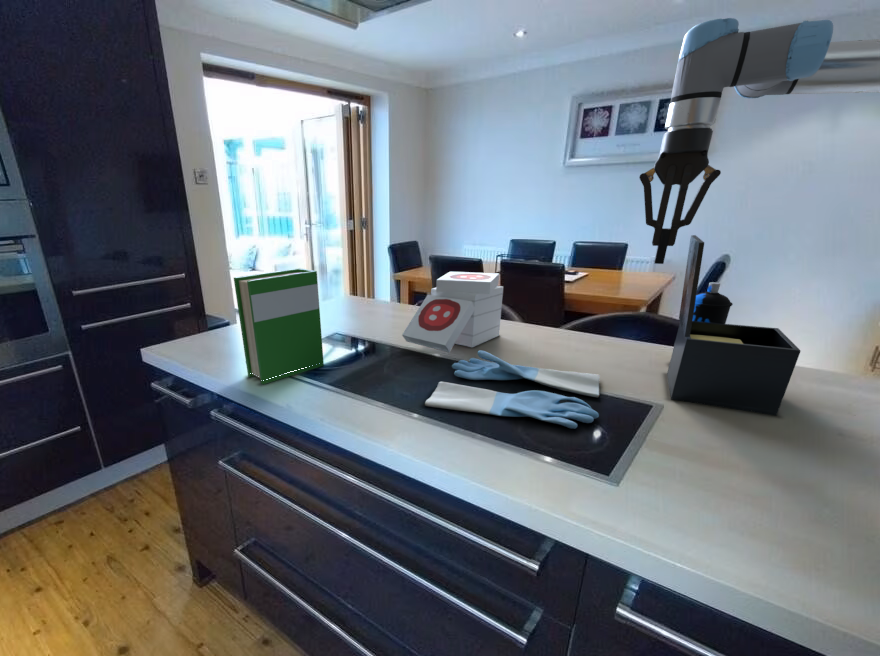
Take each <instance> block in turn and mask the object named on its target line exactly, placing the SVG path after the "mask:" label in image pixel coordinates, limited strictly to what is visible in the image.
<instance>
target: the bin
mask: <svg viewBox="0 0 880 656" xmlns="http://www.w3.org/2000/svg"><path fill="white" fill-rule="evenodd" d="M690 335H705V336H716V337H725V338H733V339H740V340H741V341H742V343H743V344H740V343H730V342H720V341H710V340H700V339H691V337H685V335H684V332H683V329H682V326H681V323H680V322H679V325H678V329H677V333H676V337H675V340H674V344H673V347H672V352H671V357H670V361H669V364H668V369H667V372H666V375H667V382H668V390H669V395H670V400H674V401H679V402H687V403H691V404H698V405H706V406H710V407H718V408H726V409H731V410H739V411H745V412H750V413H757V414H764V415H770V416H778V413H779V410H780V407H781V405H782V403H783V399H784V397H785V395H786V392H787V389H788V387H789V384H790V380H791V378H792V375H793V373H794V370H795V367H796V365H797V362H798V359H799V356H800V354H801V352H802V350H800V348H799V347H798V346H797V345H796V344H795V343H794V342H793V341H792V340H791V339H790V338H789V337H788V336H787V335H786V334H785V333H784V332H783V331H782V330H781V329H780V328H779V327H769V326H755V325H743V324H742V325H741V324H732V323H731V324H730V323H725V324H721V323H709V322H697V321H692V326H691V333H690Z"/></svg>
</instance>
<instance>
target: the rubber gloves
mask: <svg viewBox="0 0 880 656" xmlns="http://www.w3.org/2000/svg"><path fill="white" fill-rule="evenodd" d="M477 355H478V357H479V358H475V357H471V358H469V360H468V361H467V360H466V359H460V360H458V362H454V363H452V364H451V368H452V369H453V370H455V371H454V373H453V375H454V376H455V377H457V378H461V379H465V380H473V381H486V380H487V381H488V380H489V381H491V380H492V381H512V380H513V381H514V380H523V379H525V380H529V381H532V382H535V383H537V384H540V385H543V386H545V387H549V388H552V389H555V390H560V391H564V392H568V393H571V394H572V393H573V394H577V395H582V396H586V397H591V398H599V397H600V395H601V393H600V382H601V381H600V379H601V375H600V374H597V373H596V374H595V373H587V372H578V371H569V370H557V369H552V368H543V367H533V366H527V365H526V366H525V365H517V364H511V363H510V362H508V361H505V360H503V359H502V358H501V357H497V356H496V355H494V354H492V353H490V352H487V351H486V350H478V351H477ZM480 358H481V359H480ZM482 359H483V360H482ZM560 401H566V402H560ZM424 406H425V407H430V408H437V409H444V410H445V409H446V410H452V411H453V410H454V411H462V412H467V413H477V414H484V415H492V416H497V417H512V418H521V417H523V418H524V417H530V418H533V419H536V420H539V421H542V422H546V423H551V424H555V425H559V426H562V427H565V428H568V429H572V430H576V429H577V428H578V427H579V426H578V423H577V422H576V421H578V422H581V423H583V424H592V423H593V422H594V421H595V420H597V419H598V418H599V417H600V413H599V412H598V411H596V410H594V409H593V408H592V407H591V405H590V404H588V403H587V402H585V400H583V399H580V398H578V397H575V396H565V395H562V394H559V393H555V392H554V393H553V392H550V391H545V390H538V389H537V390H535V389H534V390H525V391H519V392H517V393H508V392H507V393H506V392H500V391H496V390H492V389H486V388H481V387H475V386H469V385H463V384H458V383H453V382H447V381H439V382H438V384H437V387H435V389H434V391H433V392H432V394H431V395H430V397H429V398H427V399H426V400H425V401H424ZM573 420H574V421H573Z"/></svg>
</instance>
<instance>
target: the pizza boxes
mask: <svg viewBox="0 0 880 656" xmlns="http://www.w3.org/2000/svg"><path fill="white" fill-rule="evenodd" d="M435 281H436V285H435V286H436V287H433V288H431V289H430V294H427V295H426V296H425V298H424V300H423V301H422V303H420V305H419V307H418V309H417V311H416V312H415V314H414V316H413V317H412V318H411V320H410V321H409V323H408V325H407V326H406V328H405V329H404V330H403V332H402V334H401V336H402V337H403V339H404V340H405V342H407V343H410V344H415V345H418V346H422V347H426V348H431V349H434V350H437V351H443V352H447V353H450V352H451V351H452V349H453V347H454V345H455V344H456V345H461V346H464V347H468V348H474V347H476V346H479V345H481V344H483V343H485V342H488V341H490V340H492V339H495V338H497V337H499V336H500V331H501V330H500V329H501V317H502V307H503V296H504V285H503V286H502V285H499V281H500V273H497V272H474V271H473V272H471V271H470V272H469V271H449V272H446V273H445V274H444V275H442V276H440V277H439V278H437V279H436V280H435Z"/></svg>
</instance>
